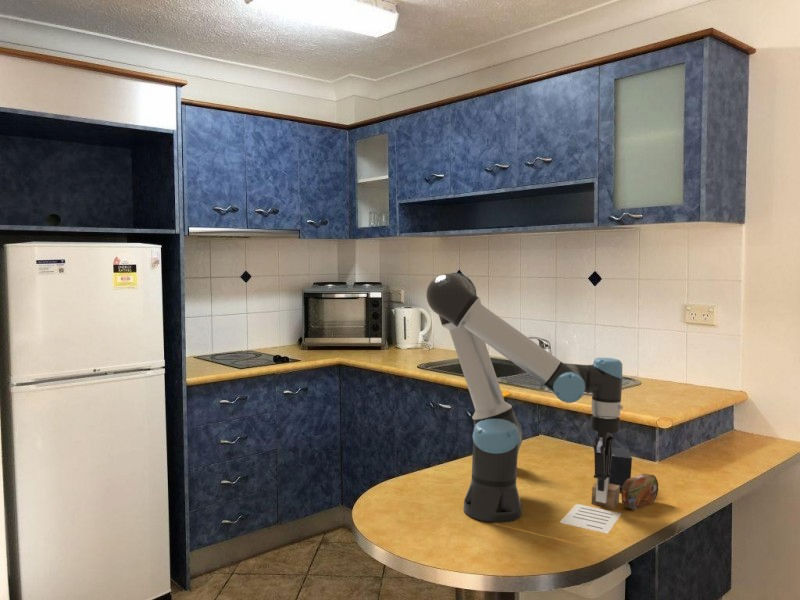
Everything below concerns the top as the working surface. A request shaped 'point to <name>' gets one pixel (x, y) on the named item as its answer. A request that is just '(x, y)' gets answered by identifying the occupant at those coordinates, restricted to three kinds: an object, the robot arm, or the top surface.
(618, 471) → the small box
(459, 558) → the top surface
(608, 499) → the walnut block
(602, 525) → the letter
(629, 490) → the tin
